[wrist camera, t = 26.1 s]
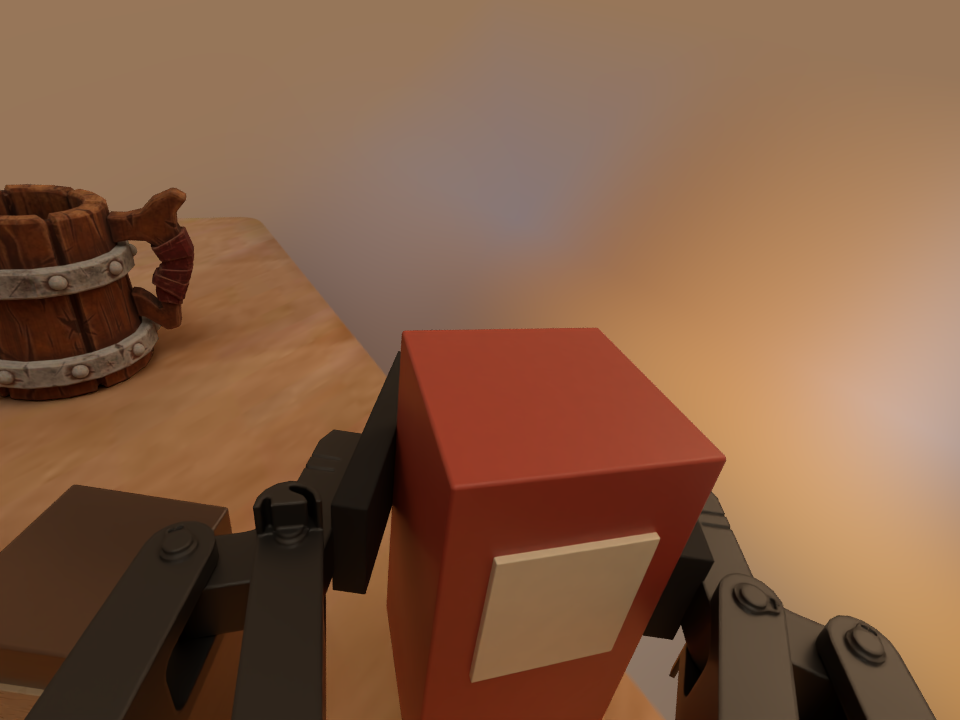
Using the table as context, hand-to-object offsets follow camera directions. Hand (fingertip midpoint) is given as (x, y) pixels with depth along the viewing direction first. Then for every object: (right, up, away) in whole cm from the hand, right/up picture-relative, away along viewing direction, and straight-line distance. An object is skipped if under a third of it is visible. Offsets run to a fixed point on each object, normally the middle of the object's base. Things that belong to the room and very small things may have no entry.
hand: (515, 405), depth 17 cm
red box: (-1, -8, -1) cm, 8 cm away
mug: (-30, +2, +22) cm, 38 cm away
